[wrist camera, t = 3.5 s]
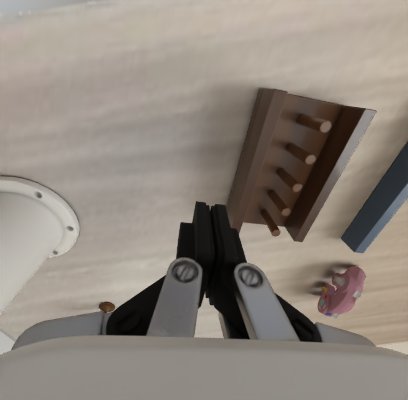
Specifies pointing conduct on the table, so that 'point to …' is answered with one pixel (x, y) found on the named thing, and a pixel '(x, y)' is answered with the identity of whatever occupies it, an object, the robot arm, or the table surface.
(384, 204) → the bar
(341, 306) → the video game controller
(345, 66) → the table surface
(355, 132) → the rack
